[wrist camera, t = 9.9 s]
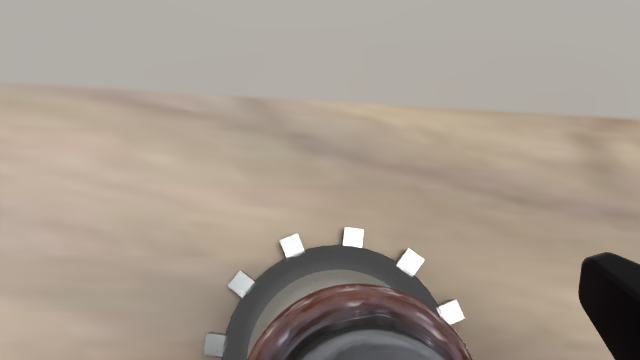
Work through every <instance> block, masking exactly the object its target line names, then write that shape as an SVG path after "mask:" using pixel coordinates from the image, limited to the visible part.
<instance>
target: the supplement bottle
mask: <svg viewBox="0 0 640 360" xmlns="http://www.w3.org/2000/svg"><path fill="white" fill-rule="evenodd" d="M247 360H472V358H471V356H470V354H469V352H468V350H467V349H466V345H465V344H464V343H463V341H462V340H461V339H460V338H459V336H458V335H457V334H456V332H455V331H454V330H453V329H452V328H451V326H450V325H449V324H448V323H447V322H446V321H445V320H444V319H443V318H442V317H441V316H440V315H439V314H438V313H436V312H435V311H434V310H432V309H431V308H430V307H429V306H427V304H425V303H423V302H421V301H419V300H418V299H416V298H414V297H412V296H411V295H407V294H406V293H404V292H401V291H398V290H395V289H393V288H389V287H384V286H379V285H373V284H361V283H353V284H341V285H336V286H331V287H327V288H324V289H320V290H318V291H315V292H313V293H310V294H308V295H306V296H305V297H303V298H301V299H299V300H297V301H296V302H294V303H293V304H291V305H290V306H289V307H287V308H286V309H285V310H283V311H282V312H281V313H280V314H279V315H278V316H277V317H276V318H275V319H274V320H273V321H272V322H271V323H270V324H269V325H268V327H267V328H266V329H265V331H264V332H263V333H262V335H261V336H260V337H259V339H258V340H257V342H256V343H255V345H254V346H253V348H252V350H251V352H250V354H249V356H248V359H247Z"/></svg>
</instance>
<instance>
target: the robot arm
mask: <svg viewBox="0 0 640 360" xmlns="http://www.w3.org/2000/svg"><path fill="white" fill-rule="evenodd" d="M578 294H579V300H580V303H581V305H582V307H583V309H584V310H585V312H586V314H587V315H588V317H589V318H590V320H591V322H592V323H593V325H594V326H595V328H596V330H597V331H598V333H599V335H600V336H601V338H602V339H603V341H604V343H605V344H606V346H607V347H608V349H609V351H610V352H611V354H612V355H613V357H614V359H615V360H640V264H638V263H635V262H633V261H630V260H628V259H626V258H623V257H621V256H618V255H616V254H613V253H609V252H605V253H601V254H597V255H594V256H591V257H587V258H585V259H584V261H583V262H582V266H581V274H580V283H579V291H578Z"/></svg>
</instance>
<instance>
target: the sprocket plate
mask: <svg viewBox="0 0 640 360" xmlns="http://www.w3.org/2000/svg"><path fill="white" fill-rule="evenodd" d="M363 234H364V230H363V229H355V228H348V227H345V228H344V233H343V241H342V245H333V246H321V247H316V248H311V249H307V250H304V248H303V246H302V243H301V241H300V238H299V236H298V233H296V234H294V235H292V236H289V237H287V238H284V239H282V240H279V241H280V243H281V246H282V248H283V251H284V253H285V256H286V258H285V259H283V260H281V261H280V262H278V263H277V264H275V265H274V266H272V267H271V268H269V269H268V270H267V271H266V272H265V273H264V274H262V275H261V276H260V277H259V278H258V279H257V280H256V281H254V280H253V279H252V278H250V277H249V276H248V275H247V274H245V273H244V272H243V271H241V270H240V271H239V272H238V273H237V275H236V276H235V277H234V278H233V280H232V281H231V282H230V283H229V285H228V287H229V288H231V289H232V290H233V291H234V292H235V293H237V294H238V295H239V296H240V297H242V299H241V300H240V302H239V304H238V306H237V308H236V310H235V312H234V313H233V315H232V318H231V321H230V323H229V326H228V329H227V332H226V334H220V333H213V332H209V333H206V338H205V344H204V349H203V354H205V355H212V356H219V357H222V360H247V359H248V356H249V354H250V352H251V350H252V348H253V346H254V345H255V343H256V342H257V340H258V339H259V337H260V336H261V335H262V333H263V332H264V331H265V329H266V328H267V327H268V325H269V324H270V323H271V322H272V321H273V320H274V319H275V318H276V317H277V316H278V315H279V314H280V313H281V312H282V311H283V310H285V309H286V308H287V307H289V306H290V305H291V304H293V303H294V302H296V301H297V300H299V299H301V298H303V297H305V296H306V295H308V294H310V293H313V292H315V291H318V290H320V289H324V288H327V287H331V286H336V285H341V284H353V283H361V284H373V285H379V286H384V287H389V288H393V289H395V290H398V291H401V292H404V293H406V294H407V295H411V296H412V297H414V298H416V299H418V300H419V301H421V302H423V303H425V304H427V306H429V307H430V308H431V309H432V310H434V311H435V312H436V313H438V314H439V315H440V316H441V317H442V318H443V319H444V320H445V321H446V322H447V323H448V324H449V325H451V324H453V323H456V322H458V321H460V320H462V319H465V317H464V315H463V313H462V311H461V309H460V306H459V304H458V302H457V300H449V301H447V302H444V303H442V304H440V305H438V304H437V302H436V301H435V299H434V298H433V297H432V295H431V294H430V292H429V291H428V289H427V288H426V287H425V286H424V285H423V284H422V283H421V282H420V281H419V279H418V278H417V277H415V276H414V274H415V273H416V271H417V270H418V269H419V267H420V266H421V264H422V263H423V262H424V259H423V258H421V257H420V256H419V255H417V254H416V253H415V252H413V251H412V250H411V249H409V248H408V249H406V250H405V251H404V253H403V254H402V255H401V257H400V258H399V259H398V261H397V262H396V261H394V260H392V259H390V258H388V257H386V256H384V255H382V254H380V253H377V252H374V251H371V250H368V249H364V248H362V243H363Z"/></svg>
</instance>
